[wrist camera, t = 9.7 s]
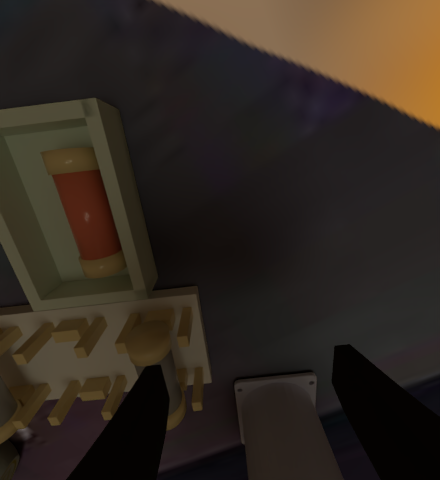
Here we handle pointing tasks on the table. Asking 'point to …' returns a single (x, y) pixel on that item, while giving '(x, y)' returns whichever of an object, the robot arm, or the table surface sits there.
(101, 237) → the cylinder
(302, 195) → the table surface
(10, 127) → the tray
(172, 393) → the fuse
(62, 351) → the fuse holder
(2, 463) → the air freshener
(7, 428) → the fuse
